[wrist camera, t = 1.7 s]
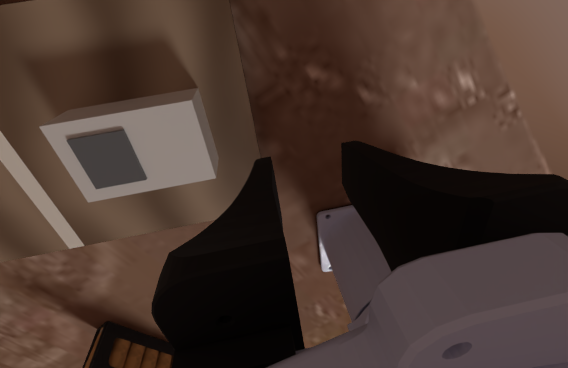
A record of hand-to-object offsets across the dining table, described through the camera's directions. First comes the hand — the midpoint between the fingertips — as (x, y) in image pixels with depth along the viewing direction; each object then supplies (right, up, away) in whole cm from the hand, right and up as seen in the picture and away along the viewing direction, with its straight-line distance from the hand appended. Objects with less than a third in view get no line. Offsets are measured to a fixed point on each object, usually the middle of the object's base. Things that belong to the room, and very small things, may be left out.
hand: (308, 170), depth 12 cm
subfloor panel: (-13, +3, +7) cm, 15 cm away
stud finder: (-10, +3, +7) cm, 12 cm away
